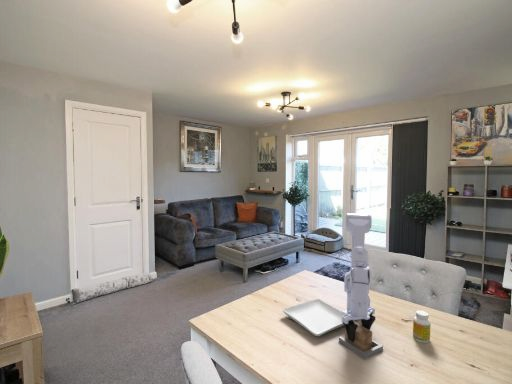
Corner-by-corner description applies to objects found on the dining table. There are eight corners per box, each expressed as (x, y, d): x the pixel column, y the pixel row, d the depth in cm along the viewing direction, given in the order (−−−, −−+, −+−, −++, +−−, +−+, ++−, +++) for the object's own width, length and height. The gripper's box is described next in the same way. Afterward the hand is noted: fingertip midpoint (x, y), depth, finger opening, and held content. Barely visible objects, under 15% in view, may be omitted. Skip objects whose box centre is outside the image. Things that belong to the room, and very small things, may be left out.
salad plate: (355, 326, 110) (355, 317, 110) (316, 343, 99) (316, 334, 99) (317, 304, 128) (317, 297, 128) (281, 317, 117) (281, 309, 117)
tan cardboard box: (353, 336, 102) (353, 321, 102) (371, 348, 95) (372, 331, 95) (344, 340, 100) (345, 324, 100) (363, 352, 93) (363, 335, 93)
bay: (357, 333, 104) (357, 330, 104) (382, 350, 94) (383, 345, 94) (338, 341, 99) (338, 337, 99) (364, 359, 90) (364, 354, 90)
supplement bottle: (424, 344, 98) (425, 318, 97) (409, 336, 102) (410, 311, 102) (433, 340, 100) (434, 314, 99) (418, 332, 105) (419, 308, 104)
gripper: (353, 310, 90) (352, 350, 91) (382, 300, 97) (381, 337, 98) (337, 301, 96) (336, 338, 97) (365, 292, 103) (364, 327, 104)
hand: (358, 337), depth 98 cm, fingers open, 7 cm apart
